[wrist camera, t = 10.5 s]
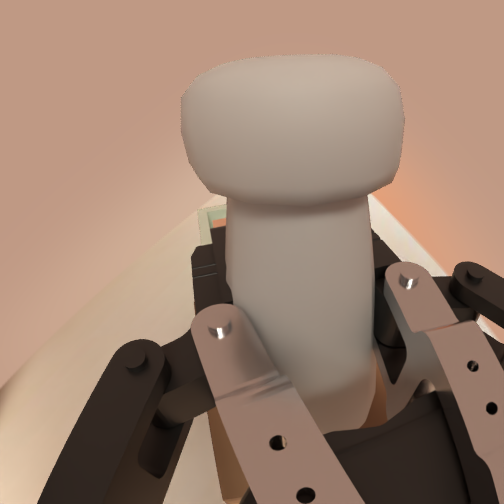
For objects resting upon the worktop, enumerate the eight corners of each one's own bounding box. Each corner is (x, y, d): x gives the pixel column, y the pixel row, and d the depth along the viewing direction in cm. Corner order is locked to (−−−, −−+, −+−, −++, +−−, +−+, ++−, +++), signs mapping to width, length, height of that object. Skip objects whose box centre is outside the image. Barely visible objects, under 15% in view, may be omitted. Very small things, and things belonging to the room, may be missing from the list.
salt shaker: (242, 485, 10) (75, 97, 2) (223, 374, 15) (147, 74, 7) (382, 446, 10) (515, 82, 3) (338, 348, 15) (354, 54, 8)
